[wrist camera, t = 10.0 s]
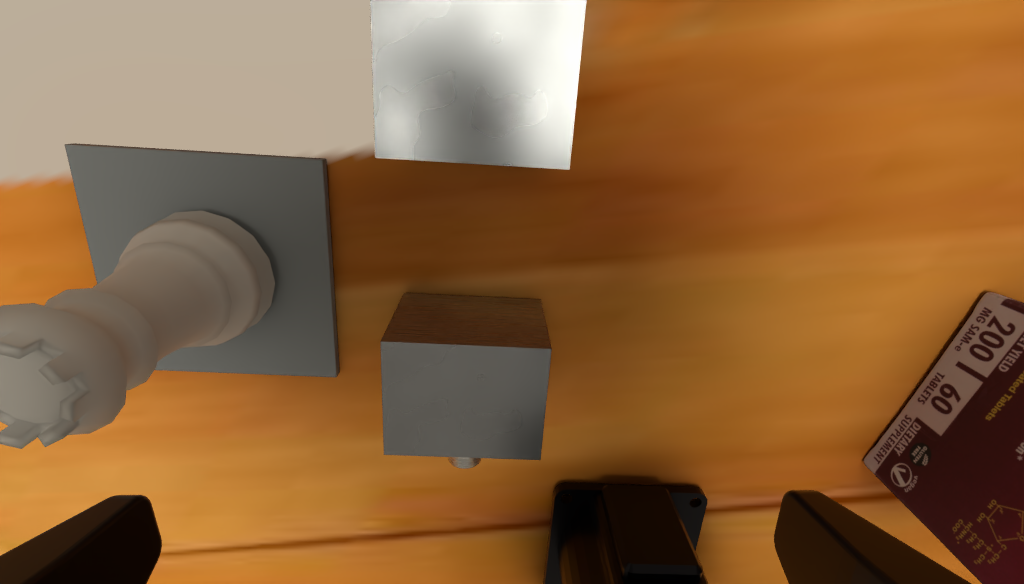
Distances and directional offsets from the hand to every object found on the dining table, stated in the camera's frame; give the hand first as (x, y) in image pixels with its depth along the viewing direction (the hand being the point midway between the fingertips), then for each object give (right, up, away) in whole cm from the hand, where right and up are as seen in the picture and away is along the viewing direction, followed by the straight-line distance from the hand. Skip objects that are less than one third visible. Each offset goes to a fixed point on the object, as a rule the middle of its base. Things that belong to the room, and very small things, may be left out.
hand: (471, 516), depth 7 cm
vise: (-1, +6, +11) cm, 12 cm away
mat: (-10, +4, +11) cm, 15 cm away
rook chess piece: (-10, +4, +11) cm, 15 cm away
